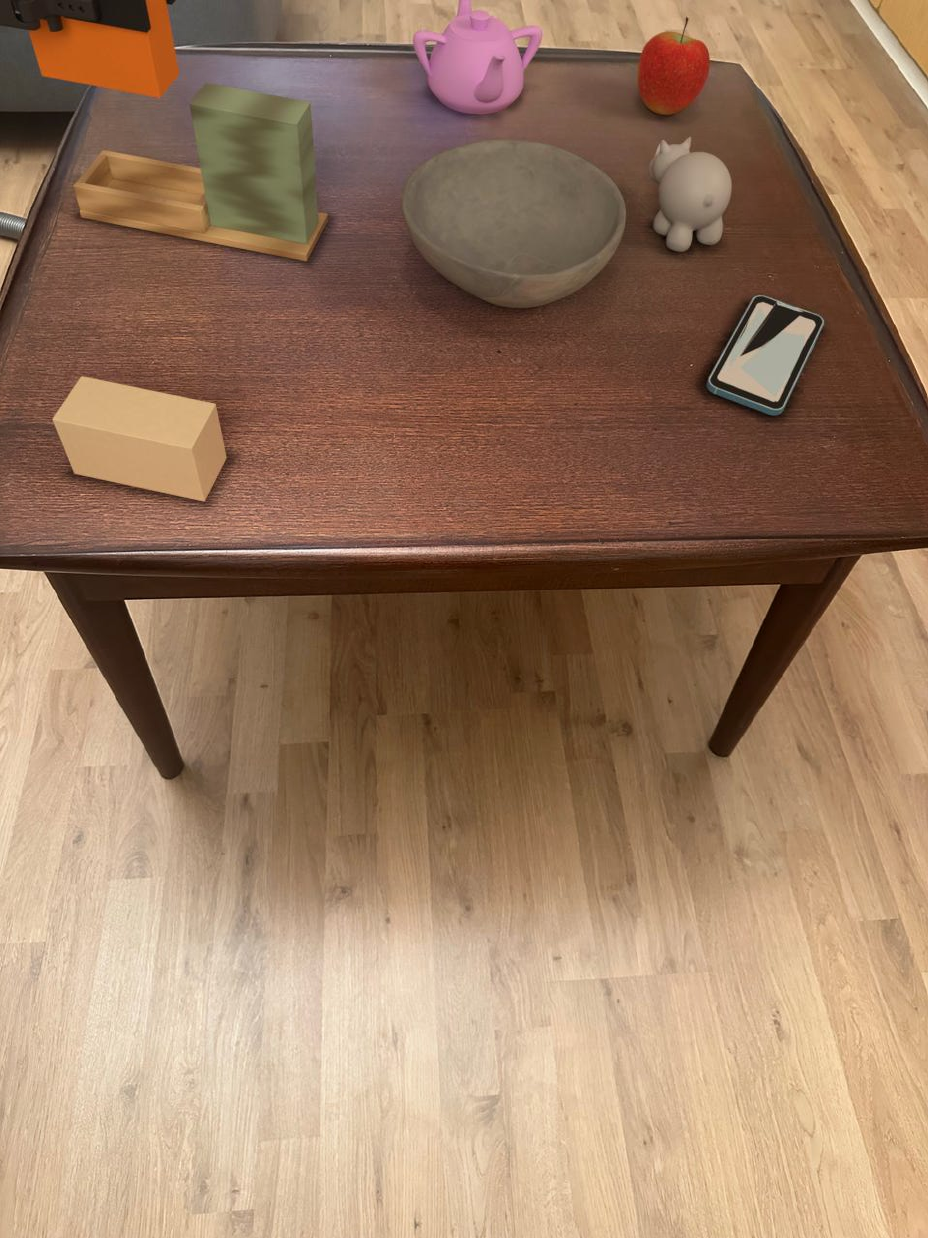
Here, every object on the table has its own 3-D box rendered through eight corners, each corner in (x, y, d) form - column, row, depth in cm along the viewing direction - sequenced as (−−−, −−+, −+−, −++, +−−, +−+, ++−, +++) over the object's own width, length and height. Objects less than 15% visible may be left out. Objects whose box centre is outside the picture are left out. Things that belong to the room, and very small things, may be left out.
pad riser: (74, 473, 76) (51, 419, 71) (100, 431, 78) (81, 375, 73) (204, 502, 75) (191, 448, 70) (227, 457, 78) (215, 403, 73)
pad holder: (81, 217, 94) (41, 86, 84) (111, 178, 98) (77, 49, 88) (306, 261, 93) (296, 133, 82) (328, 220, 97) (320, 93, 86)
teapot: (458, 56, 118) (462, -23, 110) (551, 96, 114) (562, 16, 106) (400, 92, 112) (400, 11, 105) (495, 135, 108) (503, 54, 101)
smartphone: (704, 383, 85) (755, 291, 93) (701, 391, 86) (752, 299, 94) (782, 413, 84) (827, 317, 91) (778, 421, 84) (824, 325, 92)
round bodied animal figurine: (679, 186, 104) (700, 109, 97) (728, 251, 98) (754, 173, 91) (620, 194, 103) (637, 116, 96) (665, 260, 97) (687, 182, 90)
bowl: (654, 304, 92) (675, 230, 86) (475, 371, 85) (482, 297, 79) (534, 192, 102) (544, 118, 95) (364, 244, 95) (362, 168, 88)
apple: (618, 112, 113) (635, 21, 104) (648, 85, 117) (668, -4, 108) (678, 135, 110) (701, 45, 102) (707, 107, 114) (731, 18, 106)
